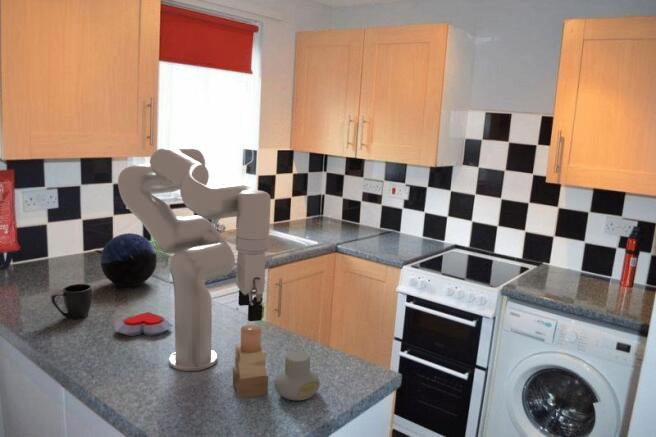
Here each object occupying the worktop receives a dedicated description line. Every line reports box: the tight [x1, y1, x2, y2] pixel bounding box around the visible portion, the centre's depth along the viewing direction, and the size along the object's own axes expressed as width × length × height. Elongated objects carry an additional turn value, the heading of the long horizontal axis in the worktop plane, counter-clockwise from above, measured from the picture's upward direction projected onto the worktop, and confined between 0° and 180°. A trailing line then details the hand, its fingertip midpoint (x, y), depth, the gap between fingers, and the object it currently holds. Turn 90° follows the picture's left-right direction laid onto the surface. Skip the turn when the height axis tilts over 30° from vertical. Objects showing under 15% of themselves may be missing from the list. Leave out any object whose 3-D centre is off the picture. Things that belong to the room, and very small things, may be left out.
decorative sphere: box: [99, 232, 158, 288], centre depth 200 cm, size 20×20×20 cm
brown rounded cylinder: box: [240, 324, 262, 353], centre depth 128 cm, size 5×5×5 cm
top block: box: [234, 343, 267, 379], centre depth 129 cm, size 6×6×6 cm
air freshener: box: [273, 351, 320, 401], centre depth 128 cm, size 11×8×10 cm
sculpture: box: [114, 311, 173, 337], centre depth 163 cm, size 17×4×15 cm
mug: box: [50, 283, 93, 320], centre depth 168 cm, size 8×12×10 cm
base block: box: [232, 366, 269, 400], centre depth 130 cm, size 7×7×5 cm
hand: (249, 312), depth 127 cm, fingers open, 9 cm apart
